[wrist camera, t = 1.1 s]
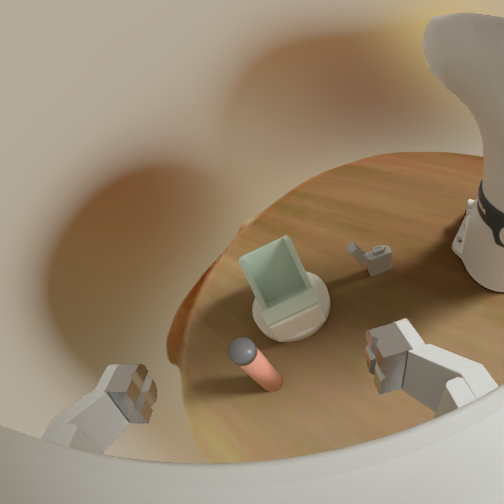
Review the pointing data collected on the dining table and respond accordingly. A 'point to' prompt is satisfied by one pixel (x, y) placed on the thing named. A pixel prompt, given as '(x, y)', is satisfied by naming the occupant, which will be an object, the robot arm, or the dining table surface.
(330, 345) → the dining table surface
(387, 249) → the lighter
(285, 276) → the green holder stand
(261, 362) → the marker
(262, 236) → the dining table surface
